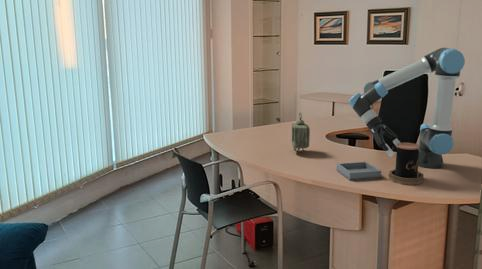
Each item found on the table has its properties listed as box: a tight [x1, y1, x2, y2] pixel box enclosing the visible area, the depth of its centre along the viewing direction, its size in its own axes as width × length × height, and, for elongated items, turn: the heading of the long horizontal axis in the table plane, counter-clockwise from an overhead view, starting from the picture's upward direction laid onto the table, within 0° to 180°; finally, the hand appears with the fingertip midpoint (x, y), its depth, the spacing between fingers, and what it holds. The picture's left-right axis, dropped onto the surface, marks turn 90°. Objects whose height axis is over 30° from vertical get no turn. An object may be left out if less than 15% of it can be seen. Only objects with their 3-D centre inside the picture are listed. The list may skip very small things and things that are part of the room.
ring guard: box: [388, 168, 424, 186], centre depth 243 cm, size 16×16×3 cm
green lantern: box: [291, 111, 311, 155], centre depth 292 cm, size 14×9×25 cm, turn 1°
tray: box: [336, 161, 382, 182], centre depth 251 cm, size 17×17×4 cm
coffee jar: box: [394, 142, 420, 178], centre depth 241 cm, size 11×11×18 cm
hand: (397, 152), depth 242 cm, fingers open, 13 cm apart
